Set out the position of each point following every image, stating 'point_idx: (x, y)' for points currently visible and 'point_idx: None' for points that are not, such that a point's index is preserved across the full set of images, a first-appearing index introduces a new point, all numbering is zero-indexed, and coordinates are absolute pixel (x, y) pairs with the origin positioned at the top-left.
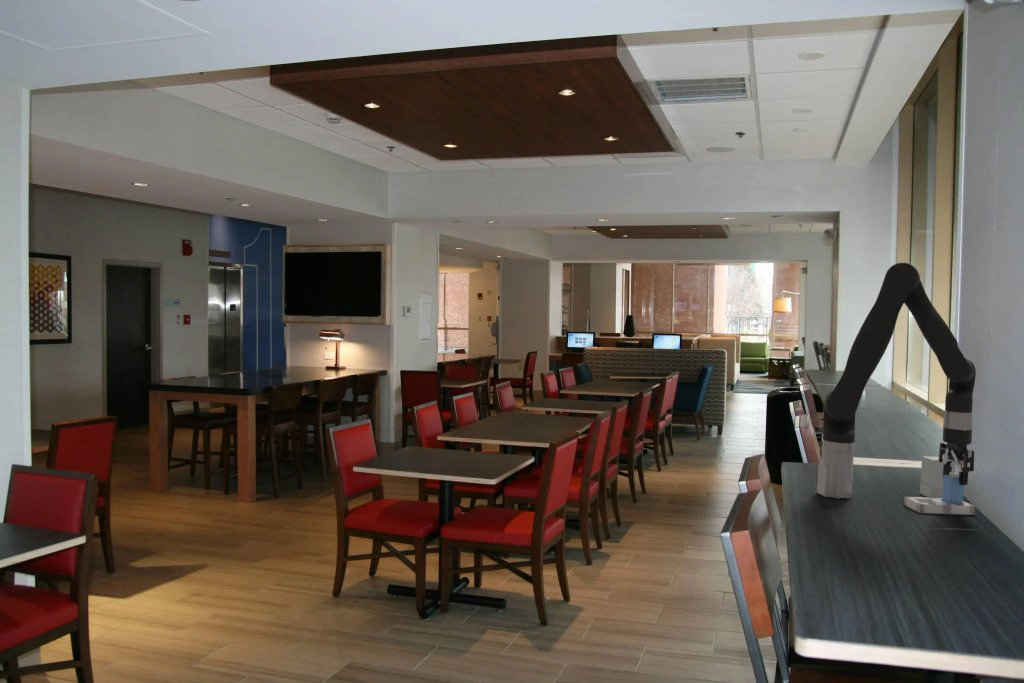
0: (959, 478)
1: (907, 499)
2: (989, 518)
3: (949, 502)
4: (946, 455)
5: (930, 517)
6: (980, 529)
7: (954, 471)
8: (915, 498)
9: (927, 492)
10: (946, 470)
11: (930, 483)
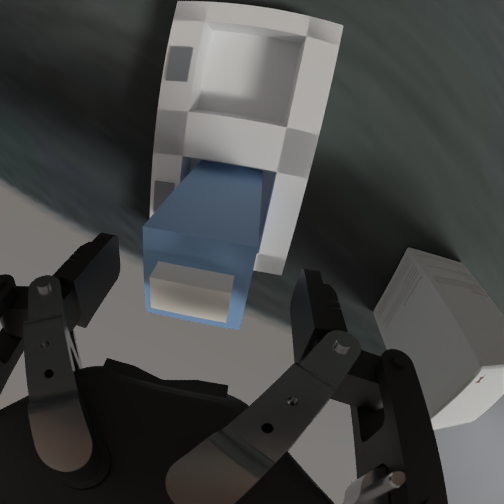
0: (93, 251)
1: (308, 18)
2: (143, 264)
3: (192, 170)
4: (257, 418)
5: (143, 36)
6: (22, 138)
7: None
8: (302, 54)
9: (434, 262)
10: (305, 317)
11: (439, 284)
